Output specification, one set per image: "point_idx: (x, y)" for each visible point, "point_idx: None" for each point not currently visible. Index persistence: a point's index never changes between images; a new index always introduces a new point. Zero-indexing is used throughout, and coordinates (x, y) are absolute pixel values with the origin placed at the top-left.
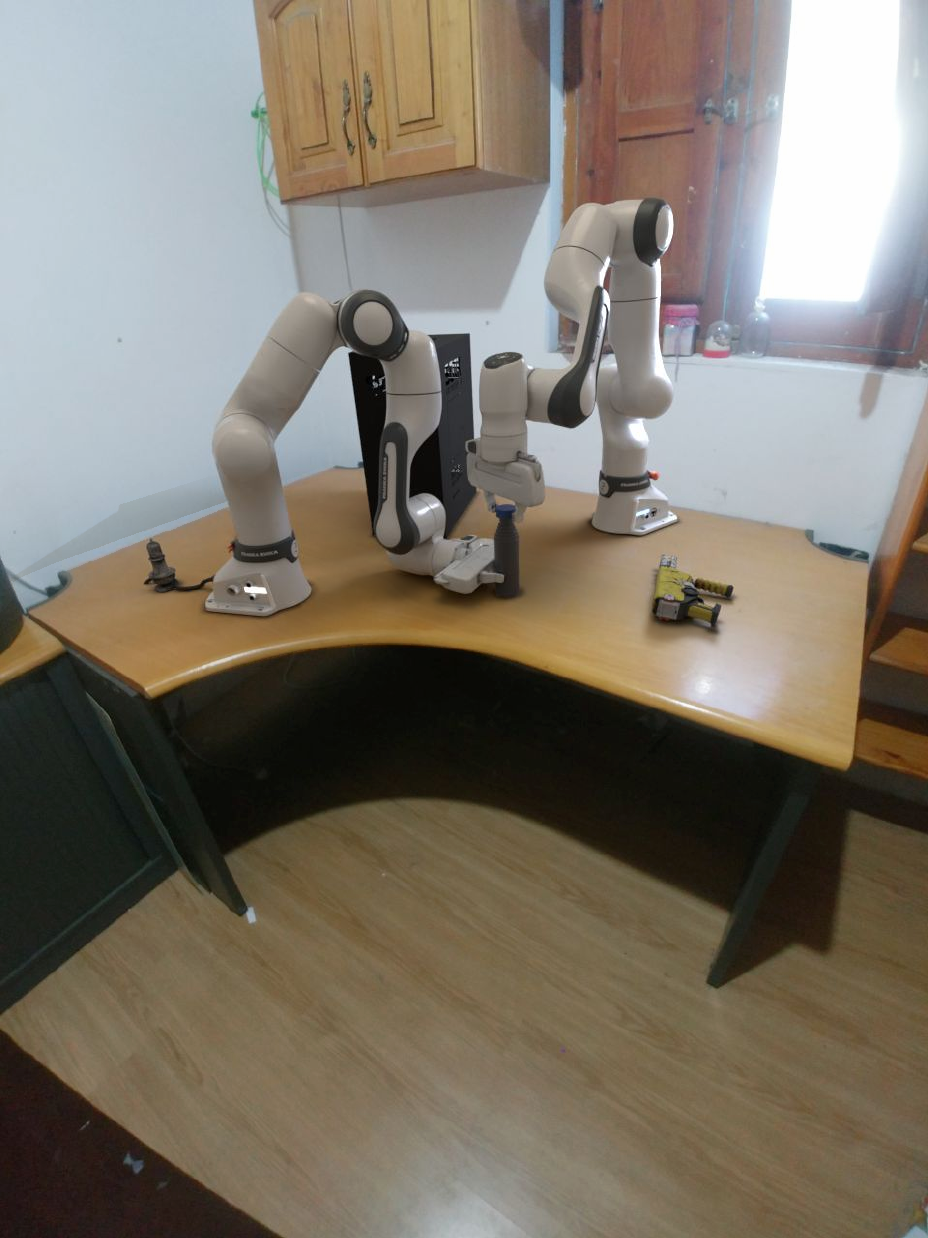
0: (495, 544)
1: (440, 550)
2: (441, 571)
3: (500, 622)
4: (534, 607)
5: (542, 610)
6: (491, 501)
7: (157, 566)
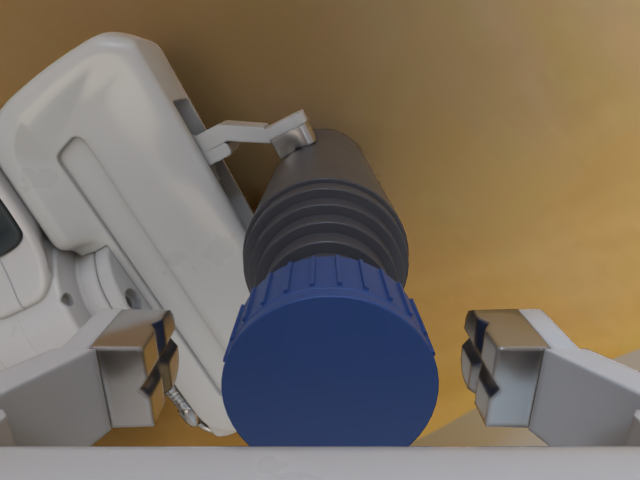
0: None
1: None
2: (175, 395)
3: (461, 311)
4: (474, 174)
5: (509, 167)
6: (88, 414)
7: None
